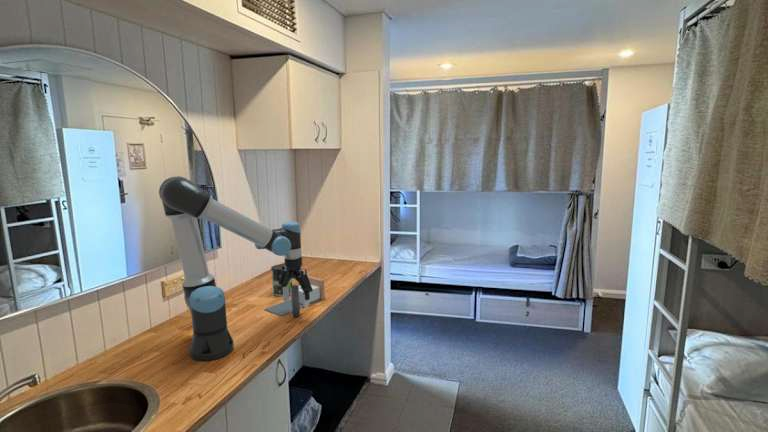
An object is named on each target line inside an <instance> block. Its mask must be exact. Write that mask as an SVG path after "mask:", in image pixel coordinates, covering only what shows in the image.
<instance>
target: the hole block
mask: <svg viewBox="0 0 768 432" xmlns="http://www.w3.org/2000/svg"><path fill="white" fill-rule="evenodd" d="M298 287H299V303H301V304H303V293H304V292H303V290H302V288H301V286H300V284H299V285H298ZM311 287H312V289H313V291H311V292H309V297H310V299H309V303H310V302H313V301H315V300H318V299H320V287H318V286H315V285H311ZM305 290H306V289H305ZM290 291H291V288H290ZM290 299H291V300H292V294H290Z"/></svg>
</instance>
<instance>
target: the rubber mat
mask: <svg viewBox="0 0 768 432" xmlns="http://www.w3.org/2000/svg"><path fill="white" fill-rule="evenodd" d="M324 300H325V299H323V300H322V299H318V300H315V301H313V302H310V303H309V306H311V304H312V305H314V304H316V303H319V302H322V301H324ZM313 303H314V304H313ZM299 305H300V310H302V309H303V304H301V303H299ZM301 308H302V309H301ZM264 311H266V312H269V313H272V314H274V315H277V316H279V317H284V316H287V315H290V314H293V311H292V300H291V298H289V300H287V301H282V302H280V303H277V304H274V305H271V306H269V307H266V308H264Z"/></svg>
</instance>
